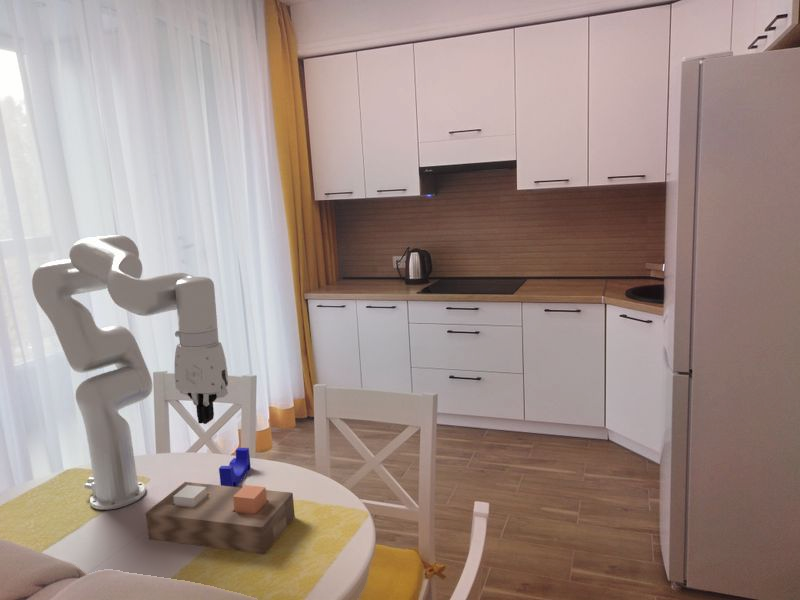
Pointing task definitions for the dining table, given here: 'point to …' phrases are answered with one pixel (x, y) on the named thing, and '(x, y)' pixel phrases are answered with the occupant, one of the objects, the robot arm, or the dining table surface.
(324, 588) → the dining table surface
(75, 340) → the robot arm
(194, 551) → the dining table surface
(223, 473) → the cable clip
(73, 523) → the dining table surface
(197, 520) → the button box
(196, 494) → the white rectangular block
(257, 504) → the terracotta plunger
